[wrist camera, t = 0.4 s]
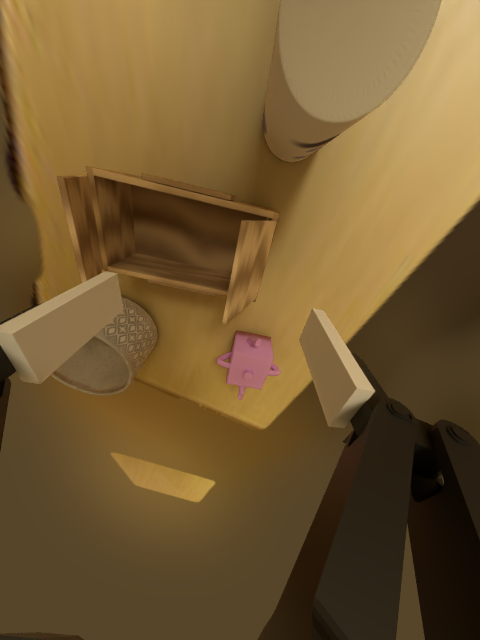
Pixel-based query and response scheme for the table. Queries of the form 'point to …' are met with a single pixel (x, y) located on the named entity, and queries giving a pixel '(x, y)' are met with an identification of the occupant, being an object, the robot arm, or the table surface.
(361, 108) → the container
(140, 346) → the planter
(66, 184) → the flap
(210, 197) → the carton
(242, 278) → the flap
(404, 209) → the table surface
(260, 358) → the teapot
